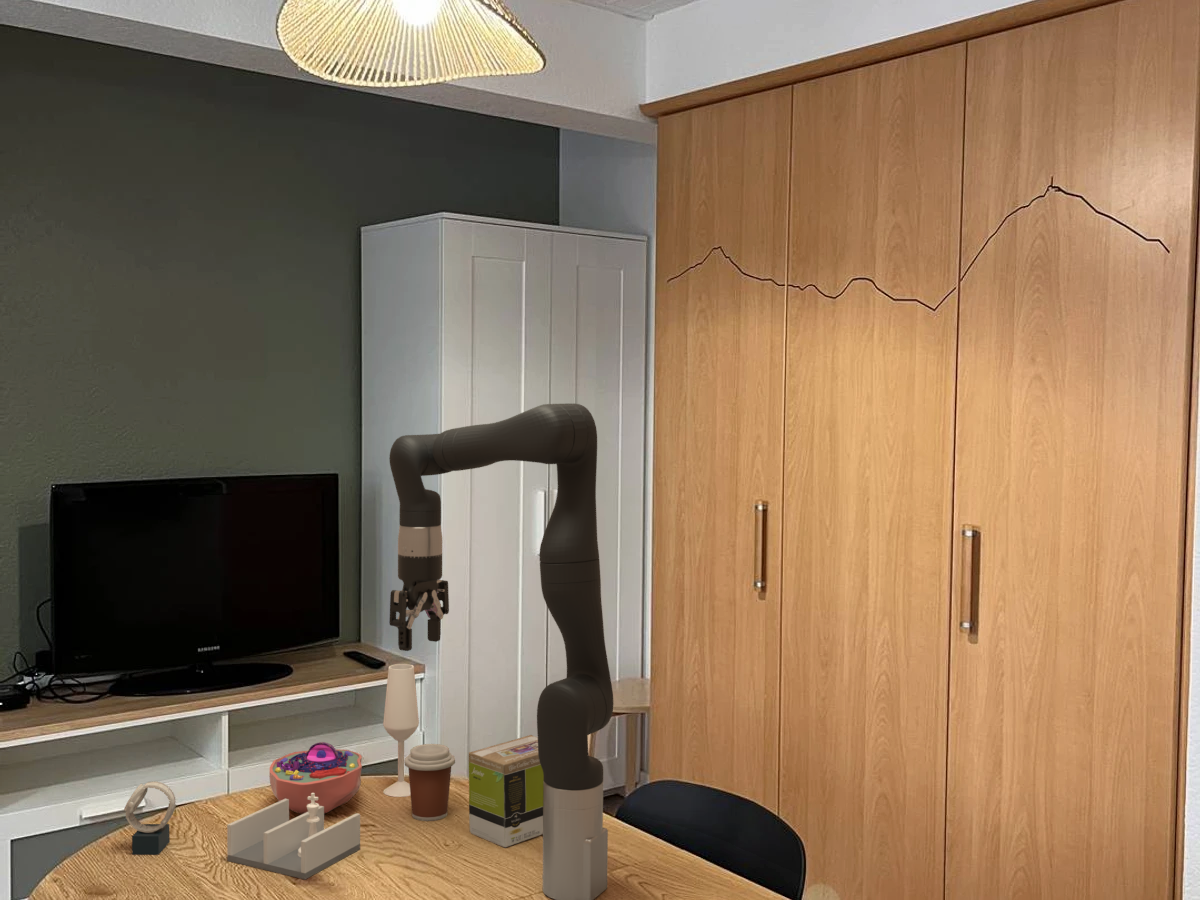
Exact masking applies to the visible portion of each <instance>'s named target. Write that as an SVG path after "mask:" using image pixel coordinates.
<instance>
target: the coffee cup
mask: <svg viewBox="0 0 1200 900" xmlns="http://www.w3.org/2000/svg"><path fill="white" fill-rule="evenodd" d="M455 764H456V757H455V755H454V754H452V753H451V752H450V748H449V747H448V746H446V745H444V744H439V743H424V744H419V745H415V746H414V747H412V748H411V749H410V751H409V754H408V755H407V756H405V757H404V767H407V768H408V777H409V778H408V779H409V784H410V794H411V795H410V803H411V817H412V818H413V819H414V820H418V821H424V822H434V821H440V820H443V819H444V818H446V817H448V810H449V797H450V785H451V775H452V766H454V765H455Z"/></svg>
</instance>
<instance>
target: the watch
mask: <svg viewBox="0 0 1200 900" xmlns="http://www.w3.org/2000/svg"><path fill="white" fill-rule="evenodd" d="M148 789H155V790H159V791H160V792H162V793H163V794H164V795H165V796H166V797H167V799H168V802H169V803H168V807H167V810H166V812H165V815H164V817H163V819H162V820H161V821H160V823H142V822H141V821H139V820H138V819H137V817H136V816H135V811H136V810H137V809H138V807H139V806H140V804H141V803H142V802H143V800H144V798H145V797H146V794H147V793H148ZM176 807H177V804H176V795H175V793H174V791H173V789H171V788H170V787H169V786H168V785H167V784H165V783H164V782H160V781H152V780H151V781H148V782H146V783H144V784H143V783H140V784H139V785H138V786H137V787H136V788H135V790H134V791H133V793H132V794H131V796H130V797H129V799H128V800H127V802H126V804H125V806H124V809H123V810H124V811H125V818H126V820H127V822H128V824H129V825H130V826H131V827H132V828H133V829H135V830H136V832H134V834H132V836H131V851H132V852H131V854H132V856H134V855H135V856H140V855H141V856H143V855H144V856H145V855H146V856H152V855H153V856H159V855H160V854H161V853H162V852H163V851H164V849H165V848H166V847H167V846H168V845H169V844H170V842H171V841H170V836H171V835H170V824H169V823H168V822H169V821H170V819H171V818H172V816H173V814H174V812H175V809H176Z"/></svg>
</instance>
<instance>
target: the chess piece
mask: <svg viewBox="0 0 1200 900" xmlns="http://www.w3.org/2000/svg"><path fill="white" fill-rule="evenodd" d="M308 800H311V803H309V804H308V805H307V810H308V812H309V815H310V817H308V818H307V820H306V821H307V822H309V823H310V829H309V837H310V836H312V835H314V834H316V833H317V828H316V822H318V821H319V820H320V819H319V817H317V816H316V815H317V811H318V808H319V804H318V803H315V800H318V797H315V793H311V796H308ZM298 856H299V857H301V847H300V848H299V849H298Z"/></svg>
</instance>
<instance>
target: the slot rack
mask: <svg viewBox="0 0 1200 900" xmlns="http://www.w3.org/2000/svg"><path fill="white" fill-rule="evenodd" d="M316 816H317V817H319V819H320V820H319V821H318V822H316V828H317V833H316V834H314V835H312V836H310V837H309V829H310V823H309V822H307V821H306V820H307V818H308V817H310V815H309V812H306V813H304V814H300V815H298V816H296V817H294V818H291V819H290V809H289V799H283V800H281V801H279V800H278V801H277V802H275V803H272V804H270V805H268V806H266V807H264V808H261V809H259V810H257V811H255V812H252V813H250V814H247V815H246V816H243V817H242V818H239V819H237V820H234V821H232V822H230V823H228V824H227V827H226V829H227V832H226V833H227V834H226V837H227V840H226V841H227V844H226V845H227V846H226V847H227V853H226V854H227V857H226V858H227V862H232V863H235V864H239V865H244V866H247V867H252V868H256V869H261V870H264V871H267V872H268V871H269V872H272V873H277V874H280V875H281V874H282V875H285V876H288V877H293V878H296V879H297V878H298V879H301V880H307V879H309V878H310V877H312V876H314V875H316V874H318V873H320V872H321V871H323V870H325V869H327V868H329V867H330V866H332V865H334V864H336V863H338V862H340V861H341V860H343V859H345V858H347V857H348V856H350V855H353V854H355V853H357V852H358V851H360V850H361V814H360V813H359V812H358V813H354V814H352V815H350V816H348V817H346V818H344V819H342V820H340V821H338V822H337V823H335V824H333V825H330V826H328V827H327V828H325V813H324V806H319V808H318V811H317V815H316ZM300 847H301V857H299V856H298V849H299V848H300Z"/></svg>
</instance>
